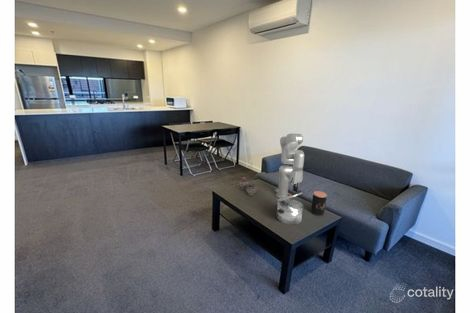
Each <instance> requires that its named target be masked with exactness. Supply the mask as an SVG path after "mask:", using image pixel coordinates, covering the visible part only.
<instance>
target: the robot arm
mask: <svg viewBox="0 0 470 313" xmlns="http://www.w3.org/2000/svg"><path fill="white" fill-rule="evenodd" d="M303 142H304V136H303V135H302V133H288V134H286V136H282V137H280V138H279V145H280V148H281V152H280V153H281V155H280V156H281V157H280V161H281V164H283V165H280V167H278V168H279V169H278V174H279V176H278V177H279V178H278V188H276V189H275V192H276V194H275V196H276V197H277V198H278V199H280V198H283V197H286V196H288V195H287V194H288V193H289V186H290V185H291V186H293V187H292V191H293V192H297V191H299V186H300V184H301V183H302V181H303V176H304V173H303V170H304V165H305V164H304V163H305V153H304V151H303V150H302V149H301V150H299V149H297V148H298V147H299V146H300V145H301V144H302V143H303ZM288 176H289V177H288ZM289 184H290V185H289Z"/></svg>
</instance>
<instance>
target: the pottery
mask: <svg viewBox="0 0 470 313" xmlns="http://www.w3.org/2000/svg"><path fill="white" fill-rule="evenodd" d="M238 184H239V187H240V189H241V190H246V192H247V194H248V195H249V196H254V195H255V194H256V193H257V191H258V187H256V184H255V182H254V183H252V182H250V183H249V181H247V177H245V176H244V177H243V176H242V177H241V180H240V181H239V183H238Z"/></svg>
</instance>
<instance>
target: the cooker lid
mask: <svg viewBox="0 0 470 313" xmlns="http://www.w3.org/2000/svg"><path fill="white" fill-rule="evenodd" d="M302 194H303V191H302V190H301V189H298V191H297V192H295V191H293V192H291V193H289V192H288V194H287V195H288V196H286V197H283V198H277V199H276V201H277V202H278V201H282V200H286V199H292V198H295V197H297V196H300V195H302Z"/></svg>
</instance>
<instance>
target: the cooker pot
mask: <svg viewBox="0 0 470 313" xmlns="http://www.w3.org/2000/svg"><path fill="white" fill-rule="evenodd" d="M276 204H277V208H276V218H277V220H278V221H279V222H281V223H283V224H286V225H293V226H294V225H299V224H300V223H301V222H302V220H303V212H304V211H303V210H304V204H303V203H302V202H300V201H298V200H296V199H292V198H289V199H286V200H282V201H278V202H277V203H276Z"/></svg>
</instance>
